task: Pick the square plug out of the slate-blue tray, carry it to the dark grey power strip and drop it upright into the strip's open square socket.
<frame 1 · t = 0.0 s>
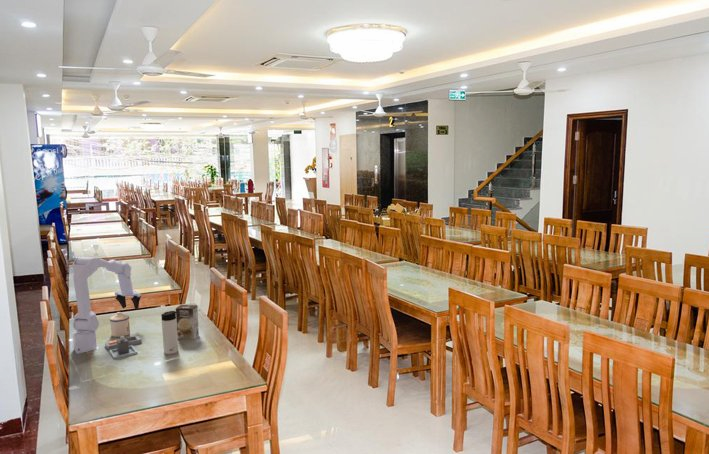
hand: (130, 308, 268), 11 cm above the table, tool pointing down, fingers open, 7 cm apart
teacup with lid: (120, 333, 261), on the table
tray: (123, 354, 233), on the table
coffee box: (188, 337, 253), on the table
power strip: (123, 345, 244), on the table
travel mug: (171, 353, 233), on the table
plug: (123, 353, 233), point 1 cm above the table, touching tray
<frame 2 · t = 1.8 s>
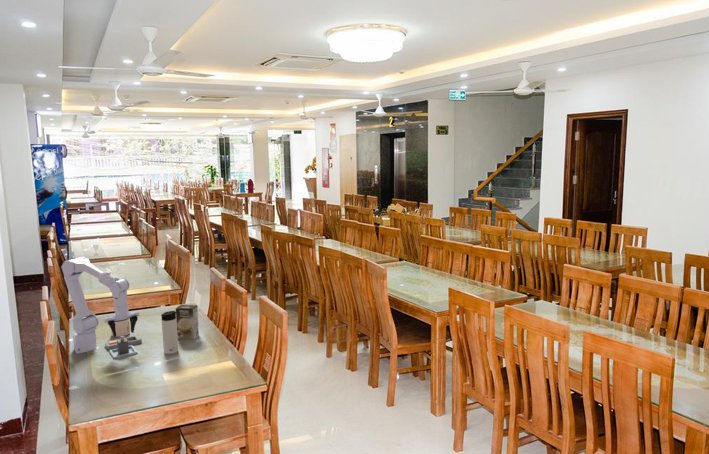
hand: (123, 334, 232), 9 cm above the table, tool pointing down, fingers open, 7 cm apart
nothing on the table moved.
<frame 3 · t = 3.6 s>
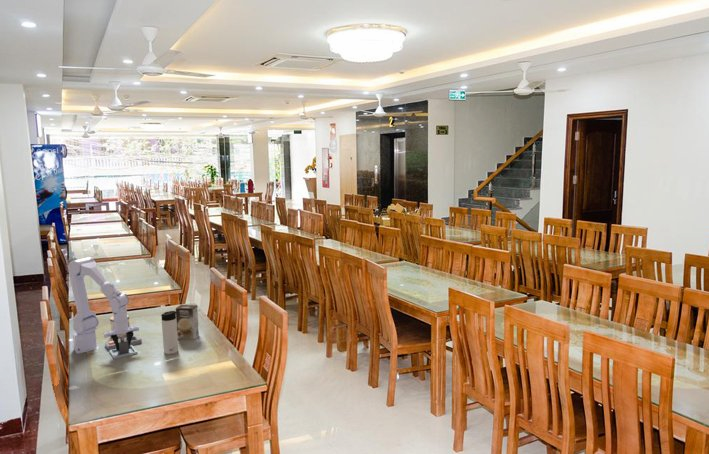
hand: (123, 348, 233), 3 cm above the table, tool pointing down, fingers closed on plug, 4 cm apart
plug: (123, 353, 233), point 1 cm above the table, touching gripper, tray
everything else where it was.
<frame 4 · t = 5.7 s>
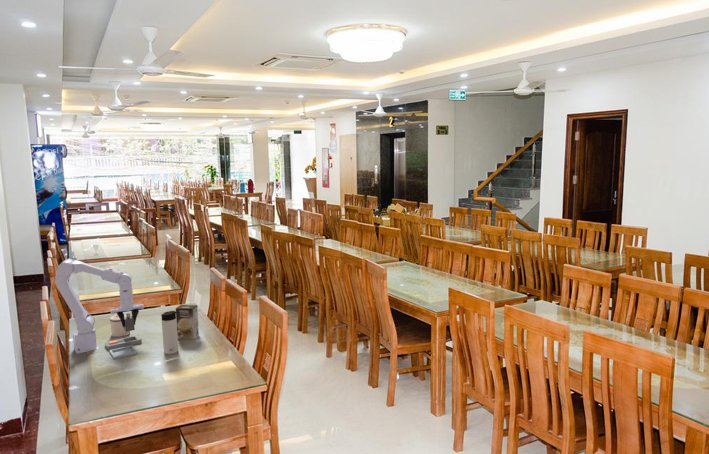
hand: (128, 325, 244), 9 cm above the table, tool pointing down, fingers closed on plug, 4 cm apart
plug: (129, 329, 244), point 7 cm above the table, touching gripper
everything else where it was.
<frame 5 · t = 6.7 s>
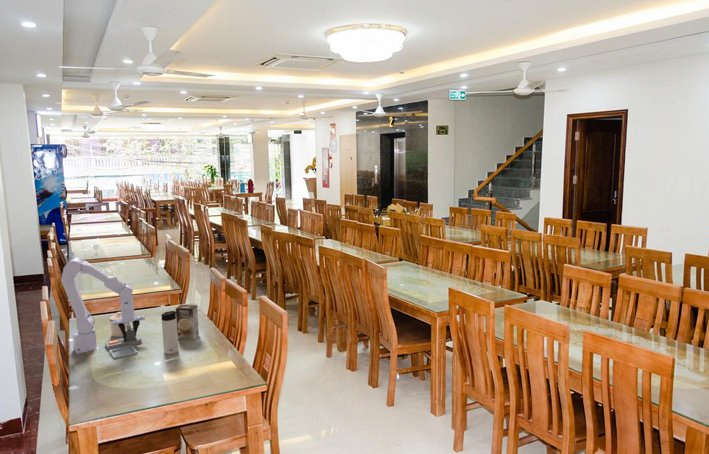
hand: (129, 337, 245), 4 cm above the table, tool pointing down, fingers closed on plug, 4 cm apart
plug: (130, 341, 245), point 2 cm above the table, touching gripper
everything else where it was.
when the fingers open (3 cm above the table, at t = 7.6 s): plug drops 1 cm, resting in power strip.
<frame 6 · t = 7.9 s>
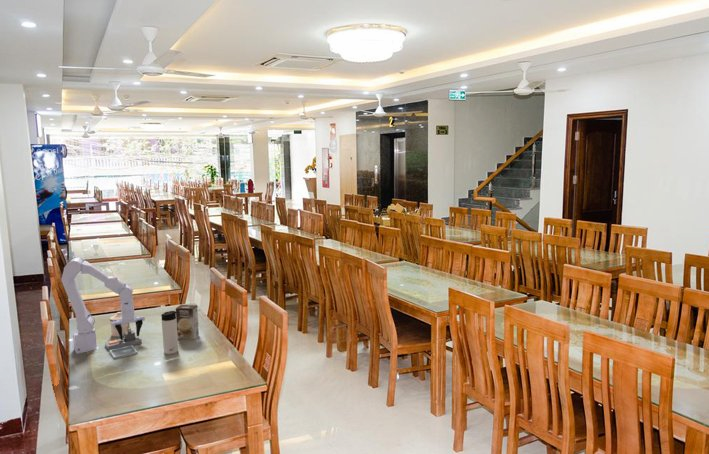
hand: (129, 337, 245), 3 cm above the table, tool pointing down, fingers open, 7 cm apart
plug: (130, 344, 245), resting in power strip
everything else where it was.
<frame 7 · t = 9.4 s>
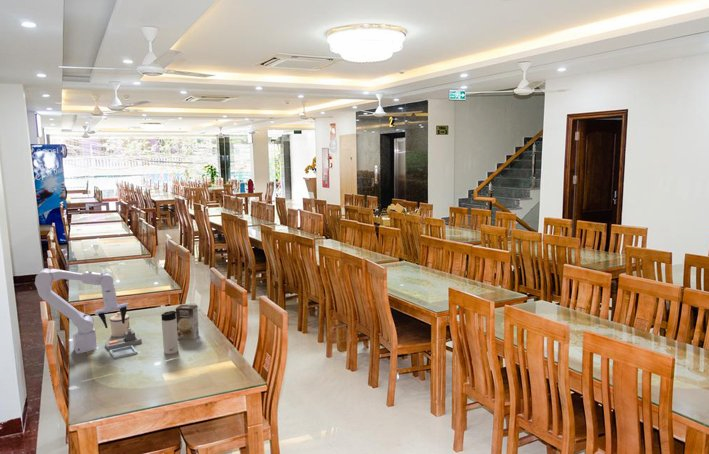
hand: (114, 325, 243), 10 cm above the table, tool pointing down, fingers open, 7 cm apart
nothing on the table moved.
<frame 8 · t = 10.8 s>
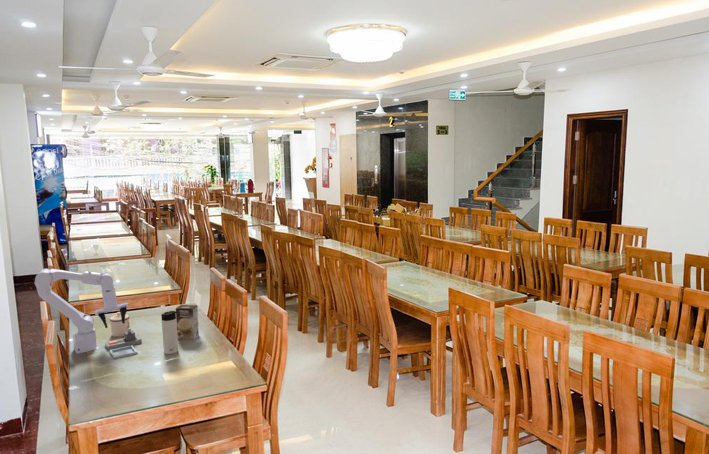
hand: (114, 325, 243), 10 cm above the table, tool pointing down, fingers open, 7 cm apart
nothing on the table moved.
at the end: plug 0.2 cm from the target spot on the power strip, point 0.0 cm above the power strip's base; plug tilted 0°; the gripper is holding nothing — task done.
